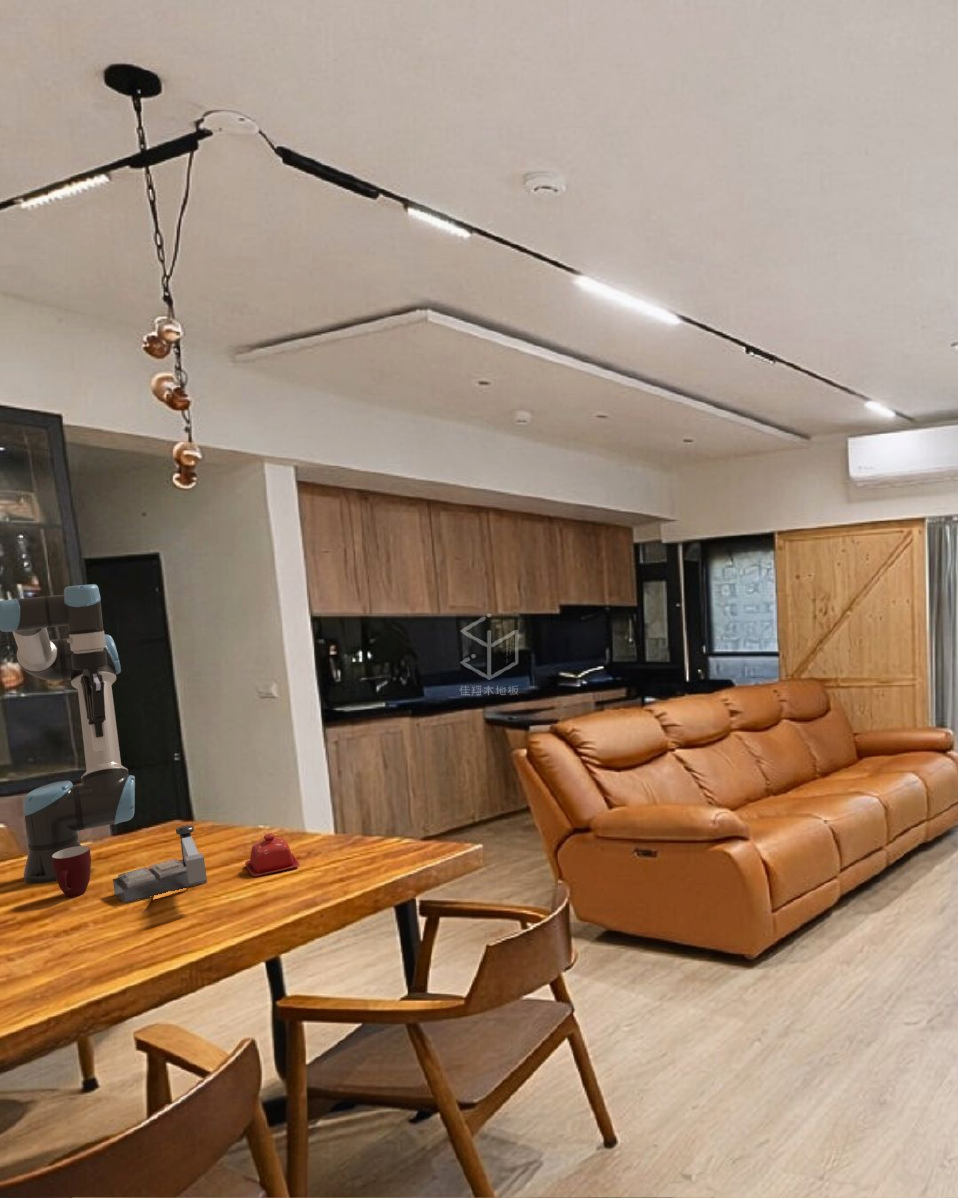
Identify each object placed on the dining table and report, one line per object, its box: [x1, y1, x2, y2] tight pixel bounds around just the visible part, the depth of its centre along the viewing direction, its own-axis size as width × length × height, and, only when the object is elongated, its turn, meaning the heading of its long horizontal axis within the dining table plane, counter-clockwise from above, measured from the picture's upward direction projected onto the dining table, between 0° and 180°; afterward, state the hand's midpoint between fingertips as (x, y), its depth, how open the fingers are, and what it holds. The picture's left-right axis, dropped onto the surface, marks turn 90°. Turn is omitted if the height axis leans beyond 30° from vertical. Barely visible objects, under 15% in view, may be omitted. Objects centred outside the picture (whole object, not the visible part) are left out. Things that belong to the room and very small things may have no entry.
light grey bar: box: [182, 835, 207, 884], centre depth 192 cm, size 17×4×5 cm, turn 25°
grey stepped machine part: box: [112, 825, 208, 904], centre depth 197 cm, size 10×18×12 cm, turn 126°
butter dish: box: [244, 832, 300, 877], centre depth 206 cm, size 12×12×8 cm
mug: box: [52, 845, 92, 898], centre depth 198 cm, size 11×8×10 cm
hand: (99, 750), depth 202 cm, fingers closed
